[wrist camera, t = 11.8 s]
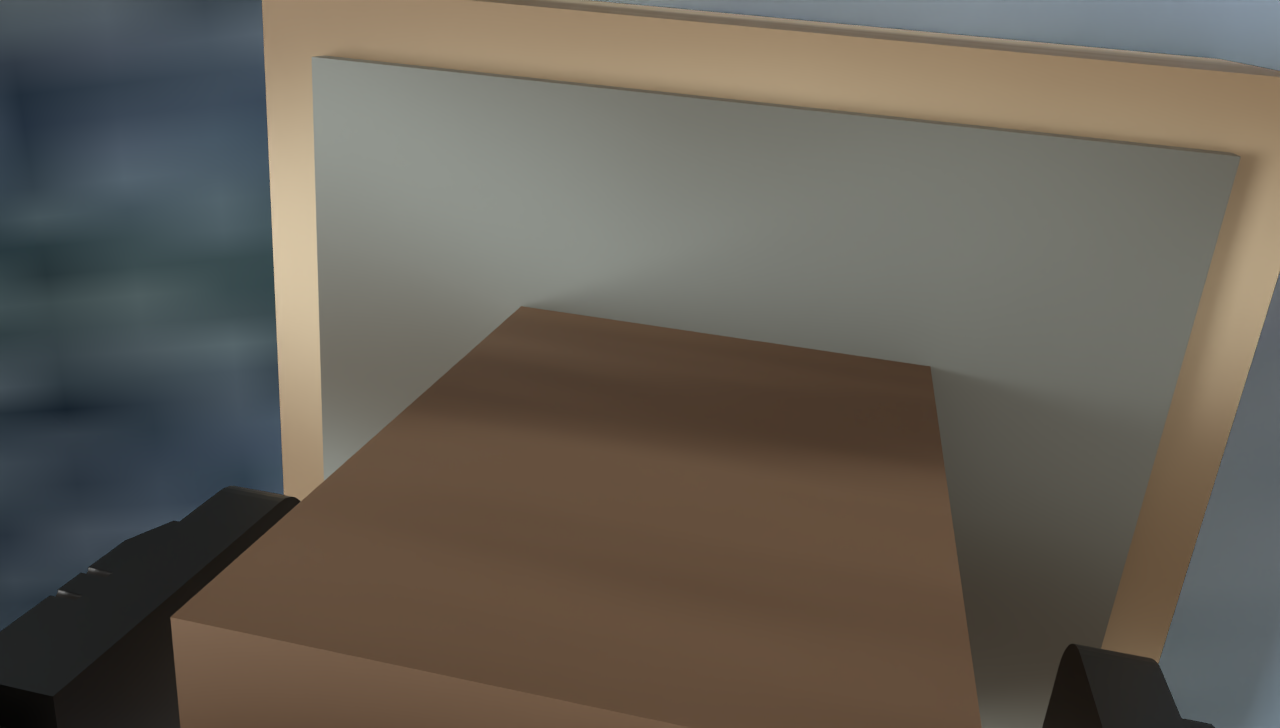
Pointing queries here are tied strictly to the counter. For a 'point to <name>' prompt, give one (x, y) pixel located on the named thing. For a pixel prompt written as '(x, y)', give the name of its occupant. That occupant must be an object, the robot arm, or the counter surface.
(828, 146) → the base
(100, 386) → the counter surface
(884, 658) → the walnut block
